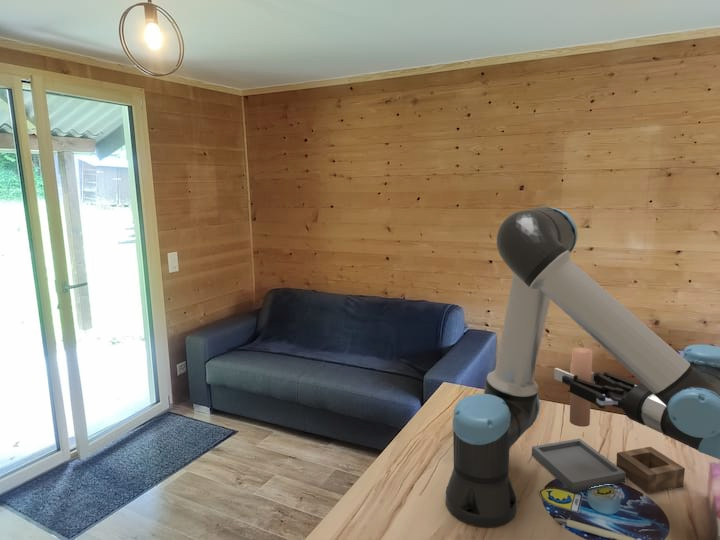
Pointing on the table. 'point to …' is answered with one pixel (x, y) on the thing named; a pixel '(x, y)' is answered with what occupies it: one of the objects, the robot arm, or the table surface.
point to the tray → (577, 465)
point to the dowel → (583, 370)
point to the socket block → (650, 469)
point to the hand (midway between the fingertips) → (563, 371)
